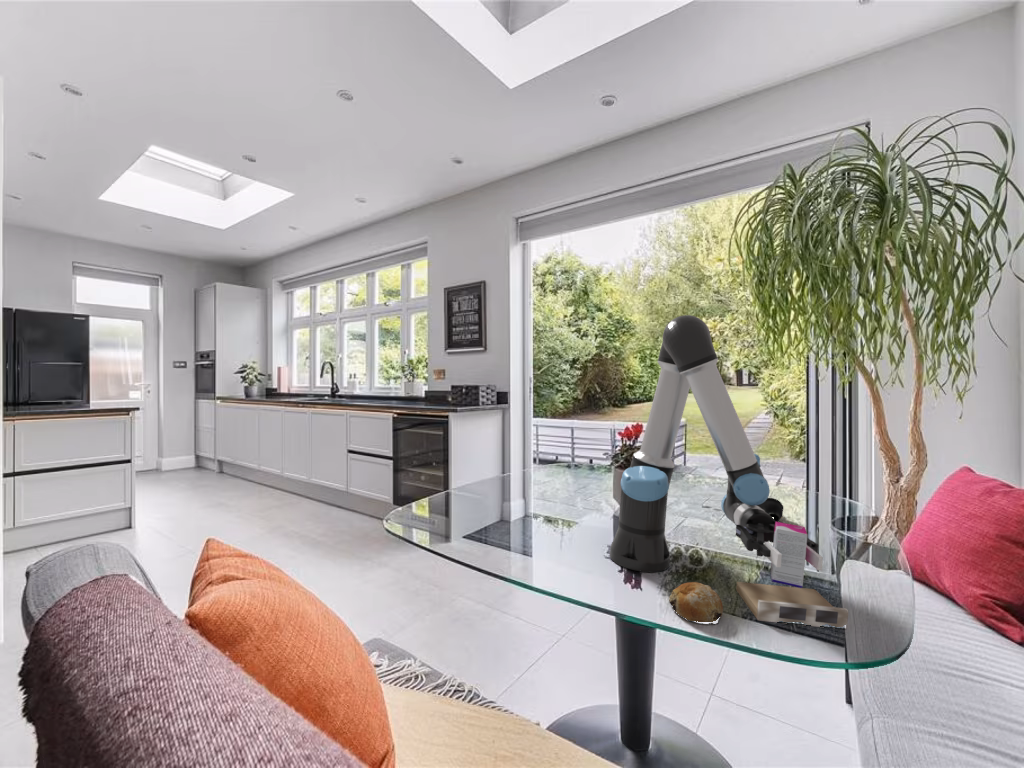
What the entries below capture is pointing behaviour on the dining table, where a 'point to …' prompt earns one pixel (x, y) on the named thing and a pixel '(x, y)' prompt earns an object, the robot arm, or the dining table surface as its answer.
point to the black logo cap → (773, 508)
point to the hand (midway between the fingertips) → (799, 562)
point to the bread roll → (696, 602)
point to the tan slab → (790, 605)
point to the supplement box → (789, 554)
